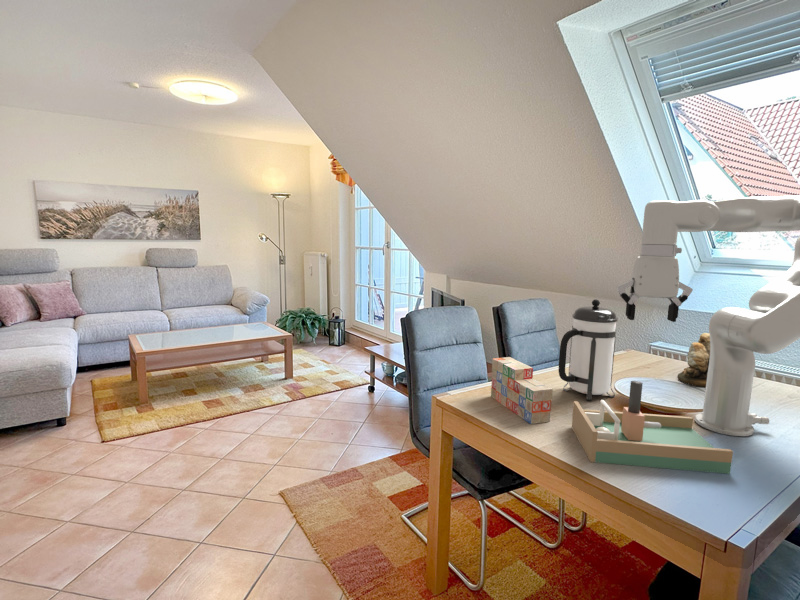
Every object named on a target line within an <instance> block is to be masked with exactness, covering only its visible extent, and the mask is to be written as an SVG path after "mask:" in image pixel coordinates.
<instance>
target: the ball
mask: <svg viewBox="0 0 800 600" xmlns="http://www.w3.org/2000/svg"><path fill="white" fill-rule="evenodd" d="M596 430H597V431H603V432H610V430H609V429H607V428H605V427H598V428H596Z"/></svg>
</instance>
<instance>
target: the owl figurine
mask: <svg viewBox="0 0 800 600" xmlns="http://www.w3.org/2000/svg"><path fill="white" fill-rule="evenodd" d="M709 359H710V335H709V332H708V333H707V332H704V333H703V332H702V333H701V334H700V335H699V338H698V341H695V342H692V343H691V344H690V346H689V348H688V353H687V365H688V366H687V367H685V368H684V369H683V370H682V371H681V372H679V373H678V375H677V380H678V381H679V382H682V383H683V384H685V385H688V384H689V386H692V387H700V388H706V383H707V375H708V367H709Z"/></svg>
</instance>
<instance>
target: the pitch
mask: <svg viewBox="0 0 800 600" xmlns="http://www.w3.org/2000/svg"><path fill="white" fill-rule="evenodd" d="M599 403H600V407H599V410H597V409H584V408H583V407H582V406H581V404H580V402H579V401H577V400H574V401H573V403H572V404H573V405H572V407H573V409H572V418H571V428H572V430H573V432H574V434H575V436H576V437H577V440H578V441H579V444H580V446H581V447H582V449H583V451H584V452H585V454H586V456H587V458H588V460H589V462H591V463H602V464H603V463H604V464H613V465H614V464H615V465H627V466H636V467H649V468H659V469H660V468H662V469H670V470H682V471H683V470H684V471H691V472H693V471H694V472H704V473H705V472H706V473H717V474H727V475H730V474H731V469H732V464H733V463H732V462H733V455H734V454H733V453H734V451H733V450H732V449H731V448H719V447H714V446H713V445H712V444H711V443H710V442H708V440H706V439H705V438H703V436H701V435H700V434H699V433H698V432H697V431H696V430H695V429H693V422H694V418H693V417H691V416H681V415H667V414H666V415H665V414H655V413H654V414H653V413H642V414H643V415H644V416H645V420H644V421H645V422H658V423H660V424H661V428H659V429H656V428H644V430H643V439H642V441H634V440H628V439H627V438H626V436H625V435H624V434H623V432H622V431H621V426H622V416H623V411H613V410H612V409H611V407H610V406H609V404H608V403H607V401H605V400H604V399H601V400H600V401H599ZM598 427H605V428H607V429H609V430H610V432H603V431H597V430H596V428H598Z"/></svg>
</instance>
